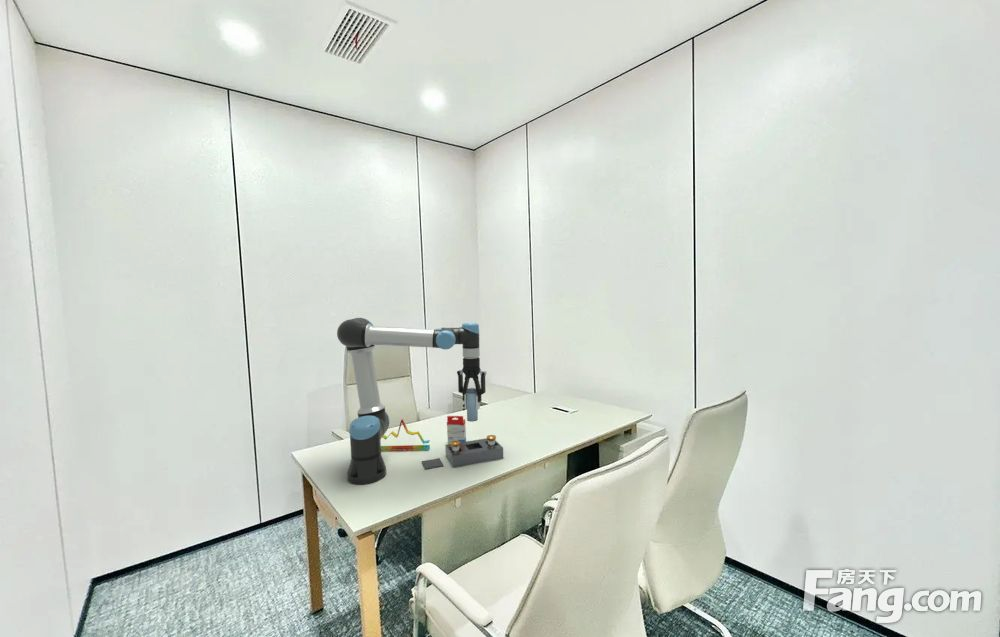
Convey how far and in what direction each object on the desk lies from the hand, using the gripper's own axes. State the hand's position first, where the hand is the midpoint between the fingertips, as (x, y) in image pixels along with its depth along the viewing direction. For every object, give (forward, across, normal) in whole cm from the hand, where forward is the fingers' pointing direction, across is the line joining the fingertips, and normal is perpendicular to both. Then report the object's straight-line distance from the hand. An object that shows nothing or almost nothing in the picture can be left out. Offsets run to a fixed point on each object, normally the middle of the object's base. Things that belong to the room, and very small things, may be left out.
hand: (472, 408), depth 176 cm
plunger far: (+22, -7, -6) cm, 23 cm away
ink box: (+23, +14, -13) cm, 30 cm away
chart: (+23, +38, +2) cm, 45 cm away
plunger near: (+22, +6, +5) cm, 23 cm away
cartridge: (+5, 0, 0) cm, 5 cm away
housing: (+22, 0, 0) cm, 22 cm away
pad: (+22, +14, +12) cm, 29 cm away
